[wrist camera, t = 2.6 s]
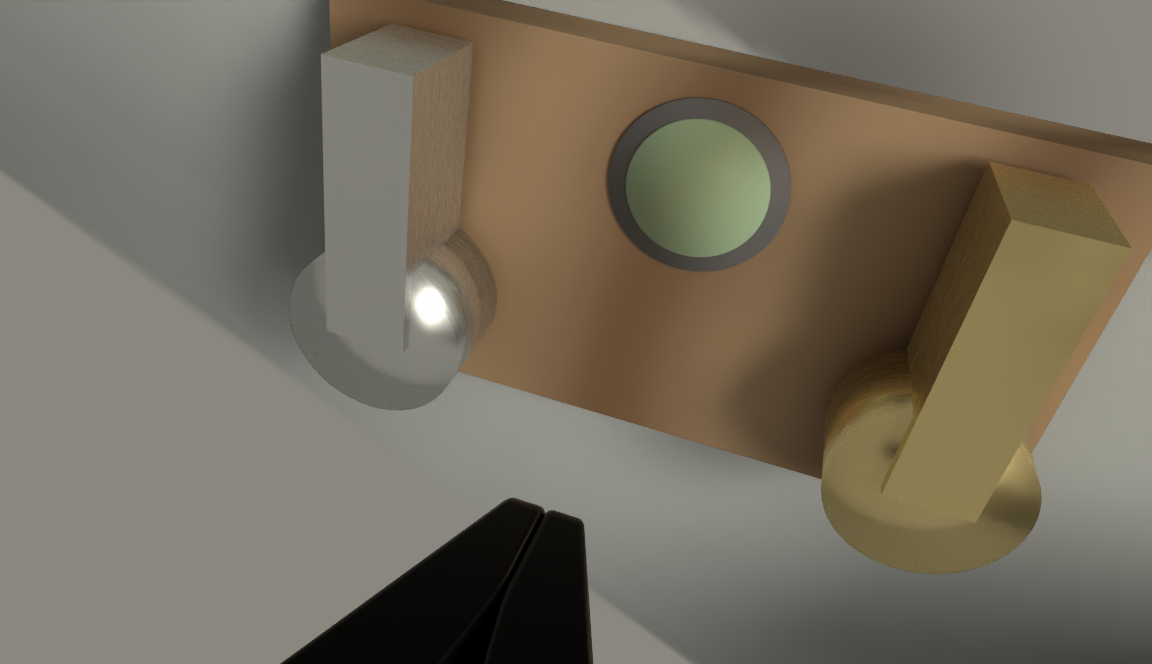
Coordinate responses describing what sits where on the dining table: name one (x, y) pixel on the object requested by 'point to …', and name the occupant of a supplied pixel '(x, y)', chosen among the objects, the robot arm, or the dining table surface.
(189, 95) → the dining table surface
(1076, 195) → the brass lever
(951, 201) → the copper base
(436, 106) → the steel lever handle
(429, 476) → the dining table surface
